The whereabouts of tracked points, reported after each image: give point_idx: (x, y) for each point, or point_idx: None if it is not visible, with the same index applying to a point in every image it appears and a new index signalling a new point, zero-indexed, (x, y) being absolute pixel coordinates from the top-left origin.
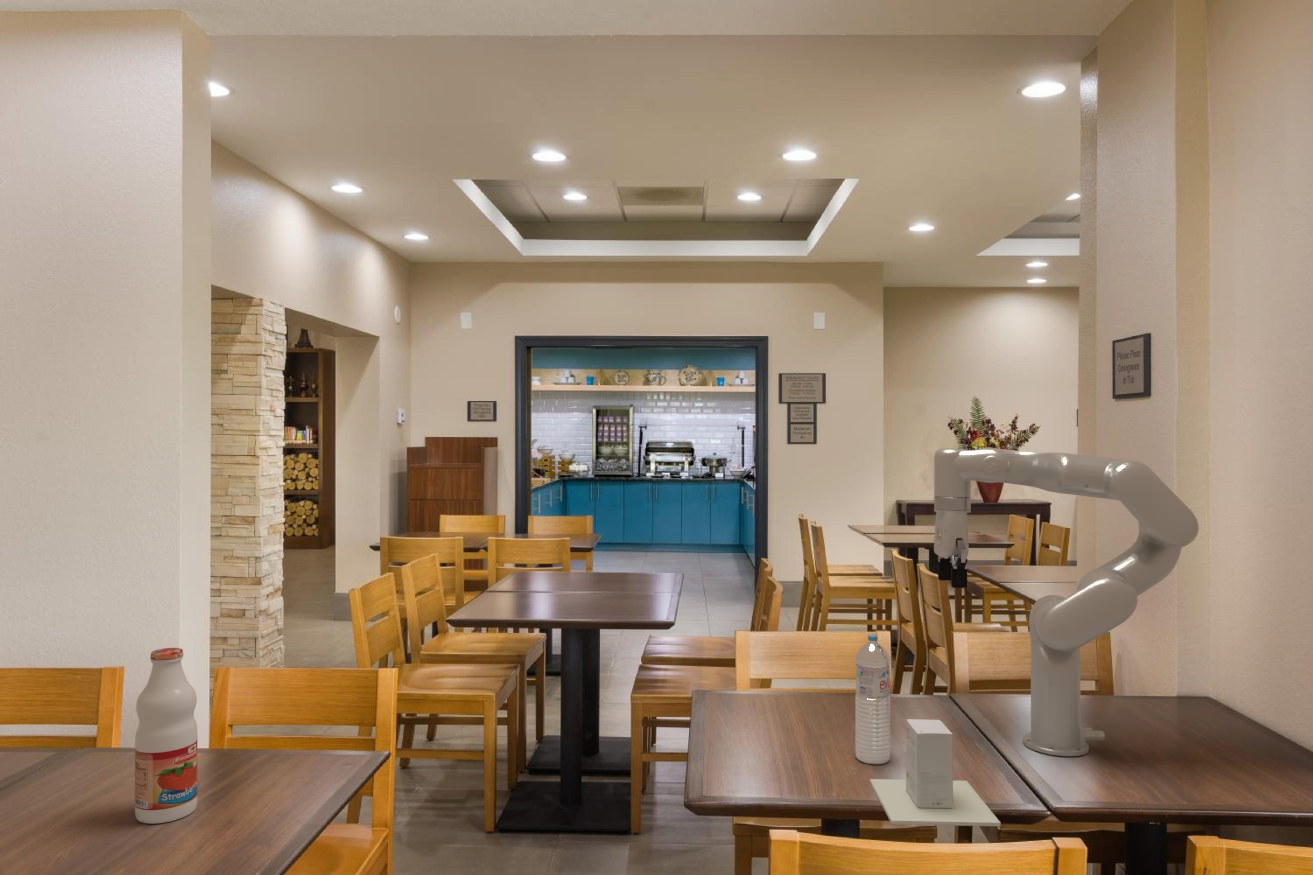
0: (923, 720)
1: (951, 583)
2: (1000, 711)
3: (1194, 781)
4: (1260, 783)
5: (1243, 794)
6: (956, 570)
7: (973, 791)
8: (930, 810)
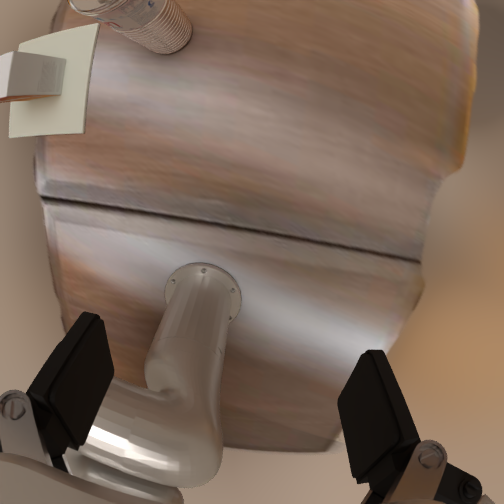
0: (6, 73)
1: (81, 323)
2: (346, 297)
3: (117, 353)
4: None
5: None
6: (29, 395)
7: (58, 132)
8: None
